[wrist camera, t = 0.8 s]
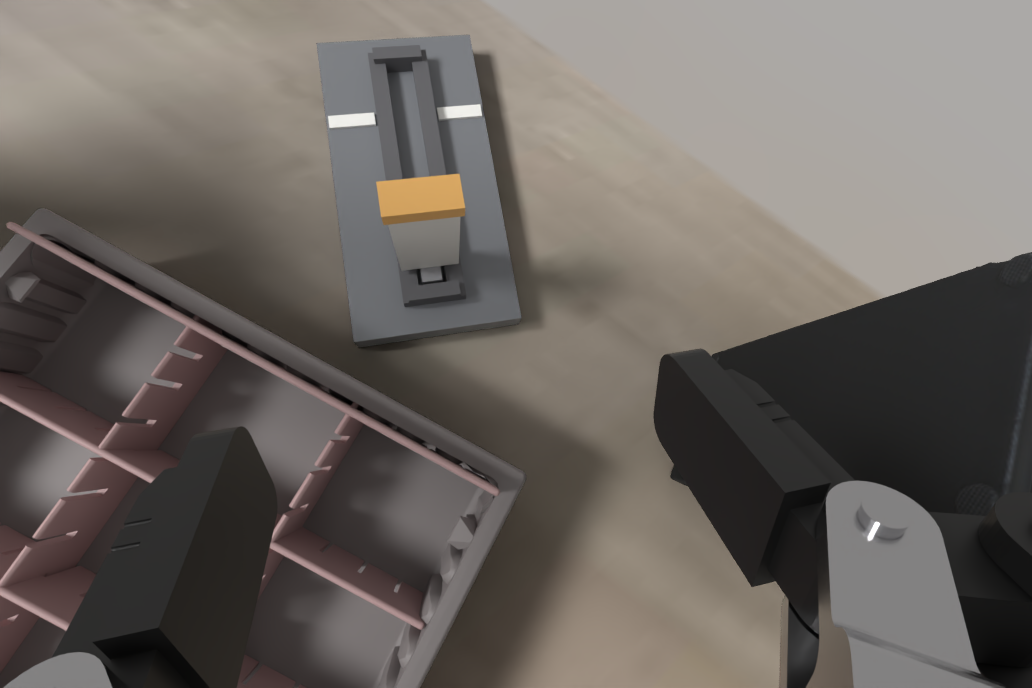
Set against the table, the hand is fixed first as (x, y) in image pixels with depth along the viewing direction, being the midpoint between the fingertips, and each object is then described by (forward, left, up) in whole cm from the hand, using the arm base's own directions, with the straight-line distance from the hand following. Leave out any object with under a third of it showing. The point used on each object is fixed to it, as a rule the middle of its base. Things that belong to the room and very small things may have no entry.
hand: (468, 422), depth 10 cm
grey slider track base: (-14, +14, -27) cm, 34 cm away
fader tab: (-9, +9, -25) cm, 28 cm away
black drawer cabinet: (+25, +14, -28) cm, 40 cm away
